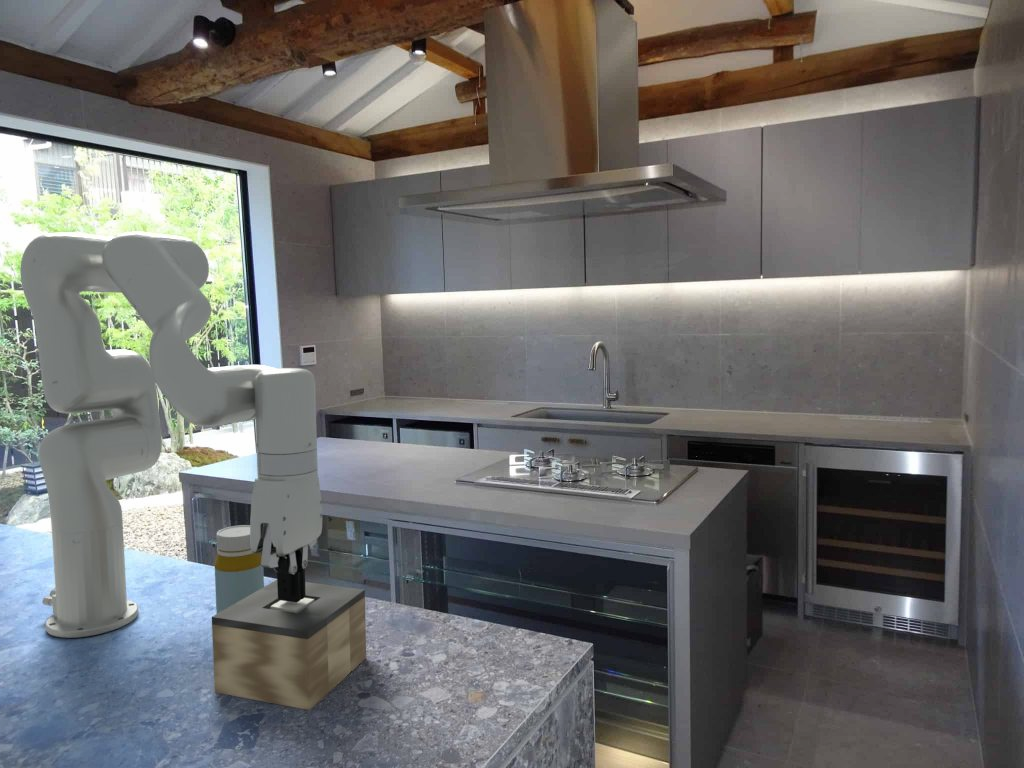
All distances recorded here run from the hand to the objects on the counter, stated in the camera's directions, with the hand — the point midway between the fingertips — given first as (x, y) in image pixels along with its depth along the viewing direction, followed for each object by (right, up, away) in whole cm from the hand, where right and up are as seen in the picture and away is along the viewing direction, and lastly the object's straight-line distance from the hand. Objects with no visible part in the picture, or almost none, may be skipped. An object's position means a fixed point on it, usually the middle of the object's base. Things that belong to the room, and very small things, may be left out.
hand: (291, 598), depth 96 cm
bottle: (-13, -9, +17) cm, 23 cm away
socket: (0, -11, +1) cm, 10 cm away
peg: (0, -11, +1) cm, 11 cm away
